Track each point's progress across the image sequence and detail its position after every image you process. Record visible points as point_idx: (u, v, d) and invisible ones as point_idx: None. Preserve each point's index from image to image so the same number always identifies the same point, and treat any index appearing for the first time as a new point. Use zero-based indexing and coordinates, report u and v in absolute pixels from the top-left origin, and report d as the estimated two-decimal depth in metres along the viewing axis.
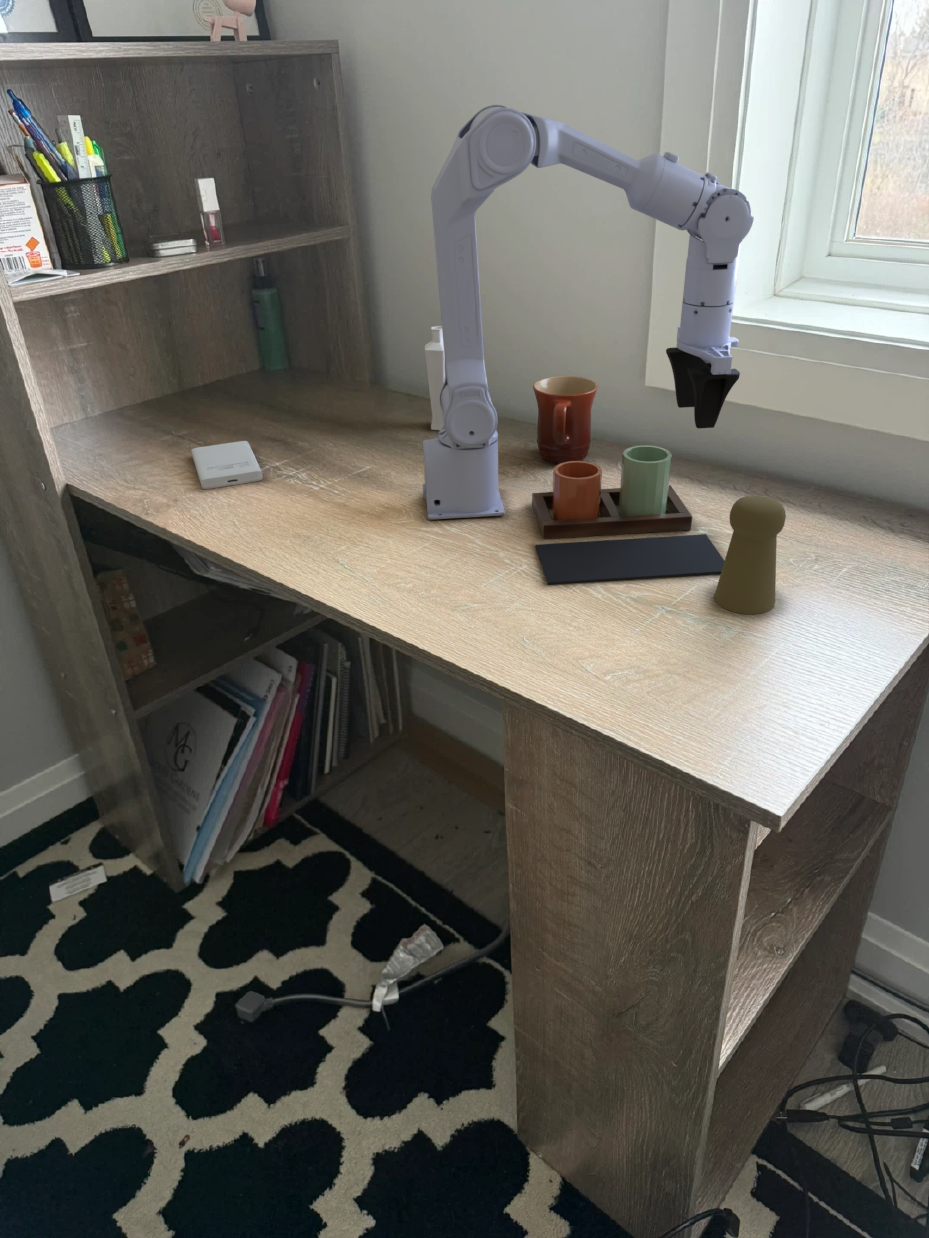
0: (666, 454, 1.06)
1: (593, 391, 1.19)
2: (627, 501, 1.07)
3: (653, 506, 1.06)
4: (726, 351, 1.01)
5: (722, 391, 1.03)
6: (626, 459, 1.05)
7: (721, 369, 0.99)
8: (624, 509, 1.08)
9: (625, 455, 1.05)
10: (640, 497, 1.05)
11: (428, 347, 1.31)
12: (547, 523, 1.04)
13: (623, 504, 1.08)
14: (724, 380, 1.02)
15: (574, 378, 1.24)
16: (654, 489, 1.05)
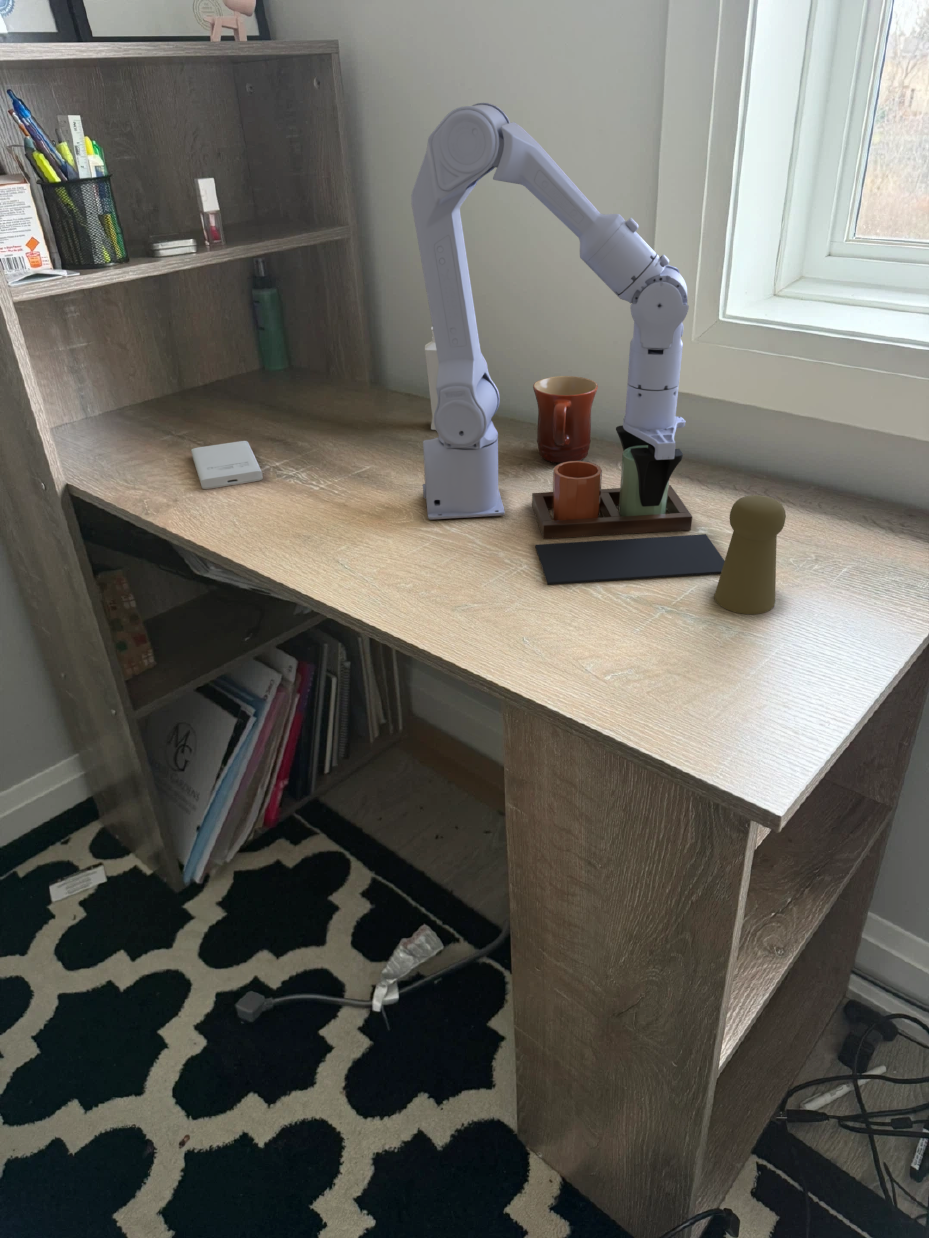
0: None
1: (593, 391, 1.19)
2: (627, 501, 1.07)
3: (653, 506, 1.06)
4: (670, 435, 0.99)
5: (666, 471, 1.02)
6: (626, 459, 1.05)
7: (664, 454, 0.98)
8: (624, 509, 1.08)
9: (625, 455, 1.05)
10: None
11: (428, 347, 1.31)
12: (547, 523, 1.04)
13: (623, 504, 1.08)
14: (667, 461, 1.01)
15: (574, 378, 1.24)
16: None
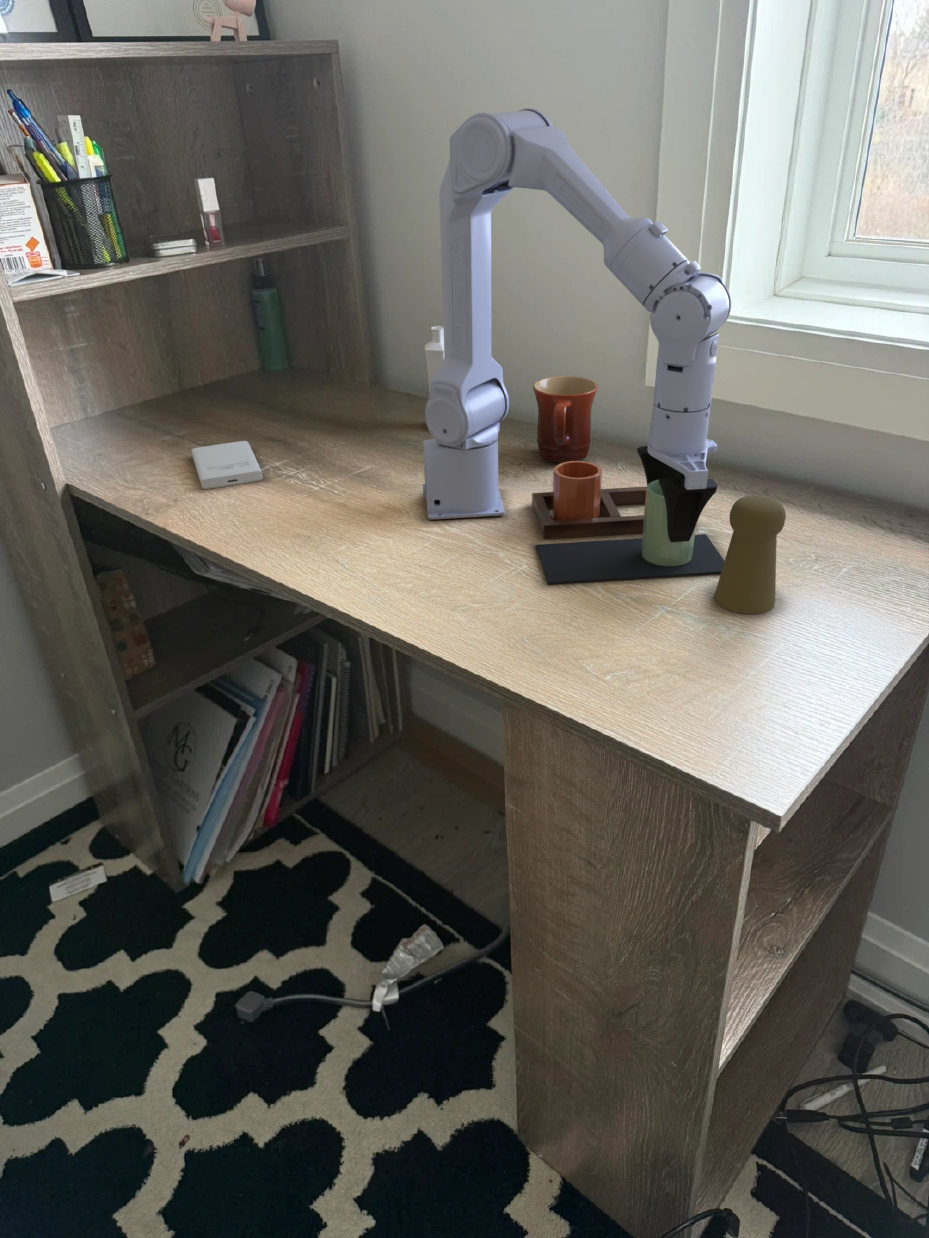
0: None
1: (593, 391, 1.19)
2: (651, 540, 0.97)
3: (680, 546, 0.96)
4: (702, 461, 0.89)
5: (698, 504, 0.92)
6: (651, 495, 0.95)
7: (696, 484, 0.88)
8: (648, 548, 0.98)
9: (649, 490, 0.96)
10: (666, 536, 0.96)
11: (428, 347, 1.31)
12: (547, 523, 1.04)
13: (647, 543, 0.98)
14: (700, 492, 0.91)
15: (574, 378, 1.24)
16: None
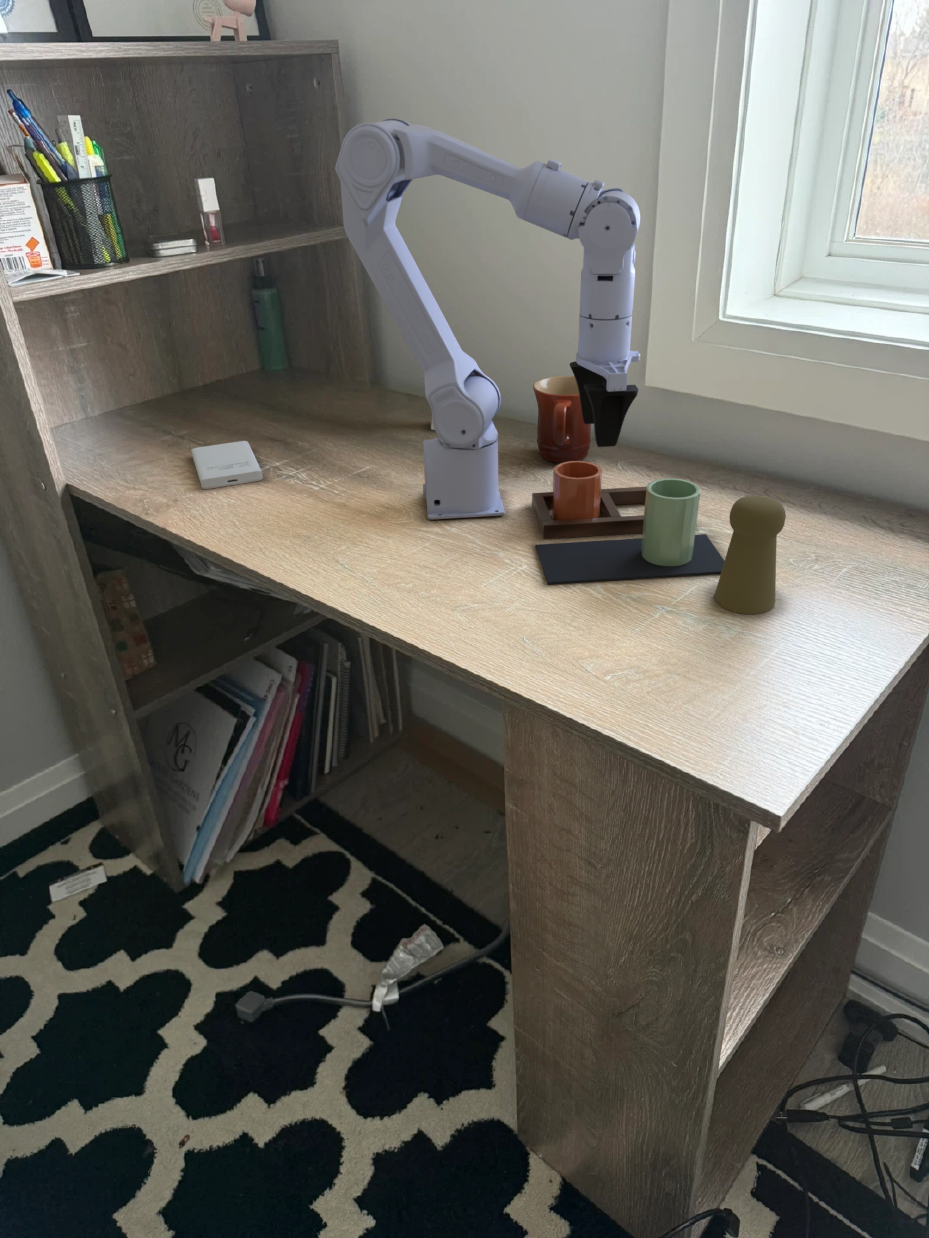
0: (694, 488, 0.96)
1: None
2: (651, 540, 0.97)
3: (680, 546, 0.96)
4: (623, 366, 0.96)
5: (621, 408, 0.98)
6: (651, 495, 0.95)
7: (616, 386, 0.94)
8: (648, 548, 0.98)
9: (649, 490, 0.96)
10: (666, 536, 0.96)
11: None
12: (547, 523, 1.04)
13: (647, 543, 0.98)
14: (622, 397, 0.97)
15: (574, 378, 1.24)
16: (681, 527, 0.95)
